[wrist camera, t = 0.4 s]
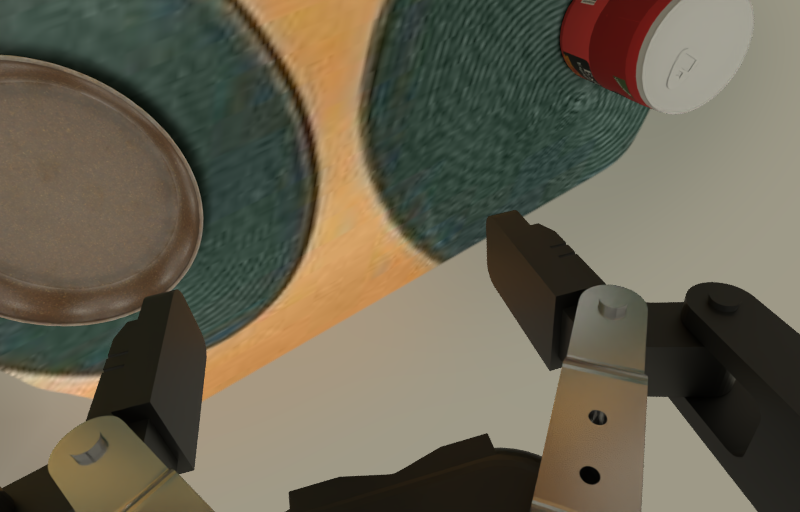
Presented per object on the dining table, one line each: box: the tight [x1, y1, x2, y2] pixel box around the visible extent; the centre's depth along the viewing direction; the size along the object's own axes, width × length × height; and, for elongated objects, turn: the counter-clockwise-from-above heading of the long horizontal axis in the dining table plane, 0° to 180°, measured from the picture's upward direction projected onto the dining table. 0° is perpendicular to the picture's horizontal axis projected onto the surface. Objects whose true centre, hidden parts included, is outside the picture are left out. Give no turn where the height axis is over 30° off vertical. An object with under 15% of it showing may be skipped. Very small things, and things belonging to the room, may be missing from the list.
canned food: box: [560, 0, 754, 114], centre depth 36 cm, size 8×8×11 cm
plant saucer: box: [0, 55, 203, 326], centre depth 36 cm, size 21×21×3 cm
